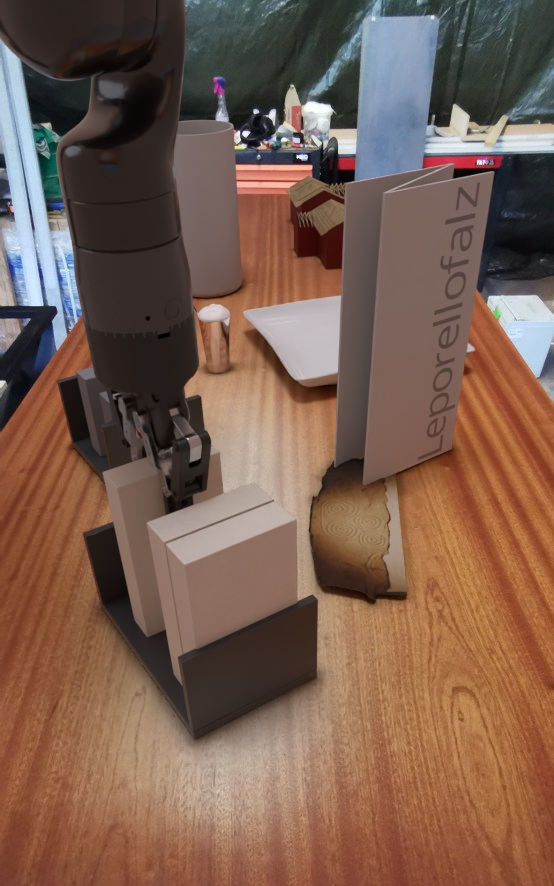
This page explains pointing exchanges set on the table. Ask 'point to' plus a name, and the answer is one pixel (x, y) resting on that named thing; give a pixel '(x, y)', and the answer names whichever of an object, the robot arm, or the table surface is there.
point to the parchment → (357, 532)
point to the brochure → (406, 313)
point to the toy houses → (318, 220)
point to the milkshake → (215, 336)
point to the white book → (145, 529)
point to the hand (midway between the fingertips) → (169, 513)
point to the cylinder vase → (209, 205)
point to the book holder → (217, 606)
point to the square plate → (305, 337)
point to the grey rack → (103, 421)
